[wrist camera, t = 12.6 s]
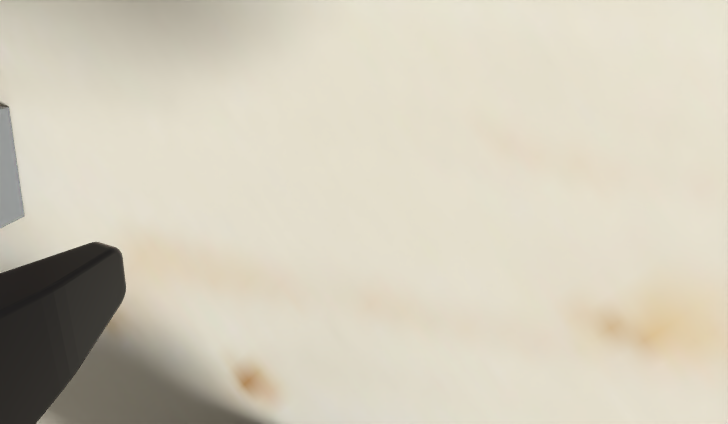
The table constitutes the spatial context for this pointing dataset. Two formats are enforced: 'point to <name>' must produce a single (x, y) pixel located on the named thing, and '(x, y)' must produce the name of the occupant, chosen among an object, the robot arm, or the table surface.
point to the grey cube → (8, 173)
